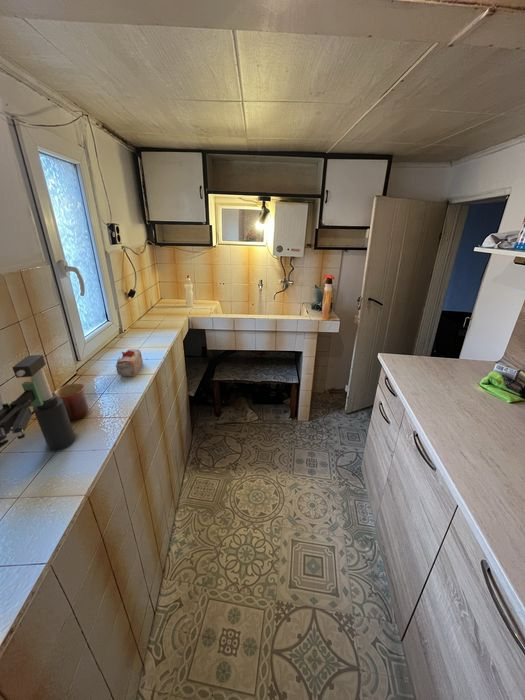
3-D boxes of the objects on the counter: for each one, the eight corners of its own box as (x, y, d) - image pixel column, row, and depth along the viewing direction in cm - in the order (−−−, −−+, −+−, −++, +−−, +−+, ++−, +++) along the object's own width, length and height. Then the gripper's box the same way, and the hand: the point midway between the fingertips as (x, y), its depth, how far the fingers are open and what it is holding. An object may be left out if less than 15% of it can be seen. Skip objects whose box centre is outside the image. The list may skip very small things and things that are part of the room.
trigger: (41, 405, 75) (32, 383, 72) (30, 407, 75) (21, 384, 72) (43, 403, 76) (35, 381, 73) (33, 404, 76) (24, 382, 73)
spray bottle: (66, 455, 81) (33, 367, 70) (38, 458, 80) (1, 370, 68) (79, 433, 90) (52, 351, 78) (54, 435, 89) (23, 354, 77)
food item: (136, 378, 122) (132, 357, 118) (117, 379, 121) (112, 358, 117) (144, 364, 135) (141, 345, 131) (127, 364, 134) (123, 345, 130)
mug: (94, 415, 98) (87, 390, 94) (65, 426, 93) (55, 400, 89) (86, 401, 106) (79, 377, 102) (59, 410, 101) (50, 385, 97)
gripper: (-72, 483, 52) (7, 409, 73) (8, 473, 55) (62, 403, 76) (-92, 453, 49) (-4, 384, 70) (-7, 443, 52) (54, 379, 73)
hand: (30, 394), depth 73 cm, fingers closed
